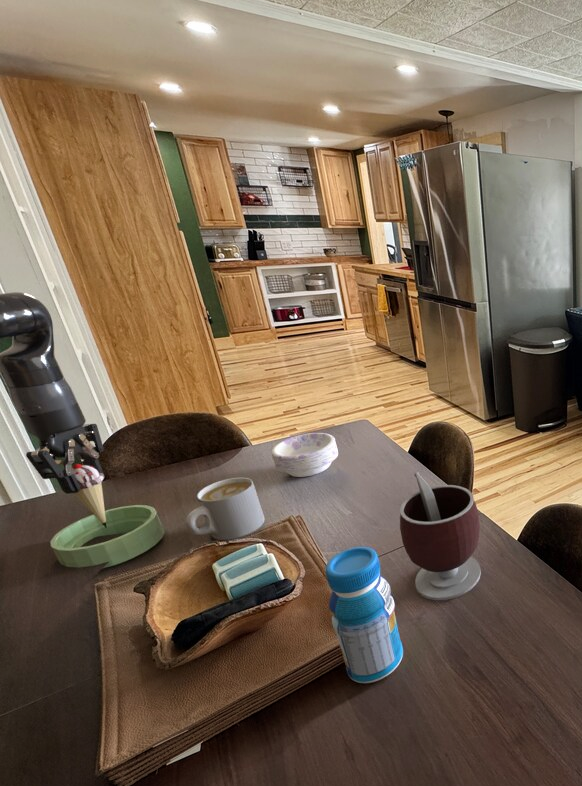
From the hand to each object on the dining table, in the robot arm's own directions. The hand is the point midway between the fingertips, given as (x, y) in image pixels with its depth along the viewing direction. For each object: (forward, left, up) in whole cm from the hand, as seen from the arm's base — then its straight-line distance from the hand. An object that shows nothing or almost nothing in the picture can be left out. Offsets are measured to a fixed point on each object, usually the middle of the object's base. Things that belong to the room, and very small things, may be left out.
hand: (85, 483), depth 94 cm
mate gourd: (+68, -25, -16) cm, 74 cm away
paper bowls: (+29, +29, -16) cm, 44 cm away
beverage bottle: (+58, -43, -16) cm, 74 cm away
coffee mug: (+20, +2, -16) cm, 26 cm away
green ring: (0, 0, -16) cm, 16 cm away
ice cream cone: (0, 0, -11) cm, 11 cm away
